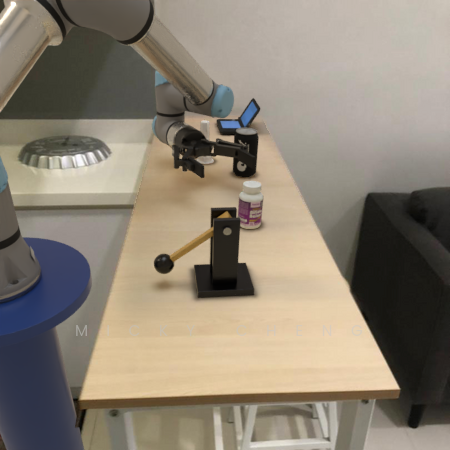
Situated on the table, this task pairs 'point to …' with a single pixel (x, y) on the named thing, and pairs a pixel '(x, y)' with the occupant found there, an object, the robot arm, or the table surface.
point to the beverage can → (251, 140)
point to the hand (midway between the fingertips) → (229, 167)
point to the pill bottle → (250, 205)
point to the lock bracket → (223, 260)
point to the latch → (182, 250)
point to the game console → (239, 119)
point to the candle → (206, 131)
